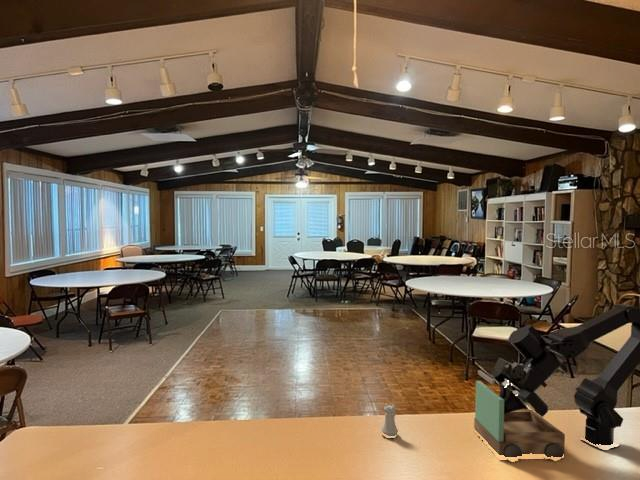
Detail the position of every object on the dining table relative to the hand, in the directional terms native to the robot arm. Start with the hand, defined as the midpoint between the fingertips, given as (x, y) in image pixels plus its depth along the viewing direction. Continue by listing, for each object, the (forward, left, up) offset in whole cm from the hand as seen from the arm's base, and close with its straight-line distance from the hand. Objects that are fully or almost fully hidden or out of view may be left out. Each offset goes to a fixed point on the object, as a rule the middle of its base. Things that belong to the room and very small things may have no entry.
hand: (493, 414), depth 107 cm
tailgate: (+2, -1, -4) cm, 4 cm away
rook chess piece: (+22, -14, -8) cm, 27 cm away
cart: (-6, +2, -8) cm, 10 cm away
